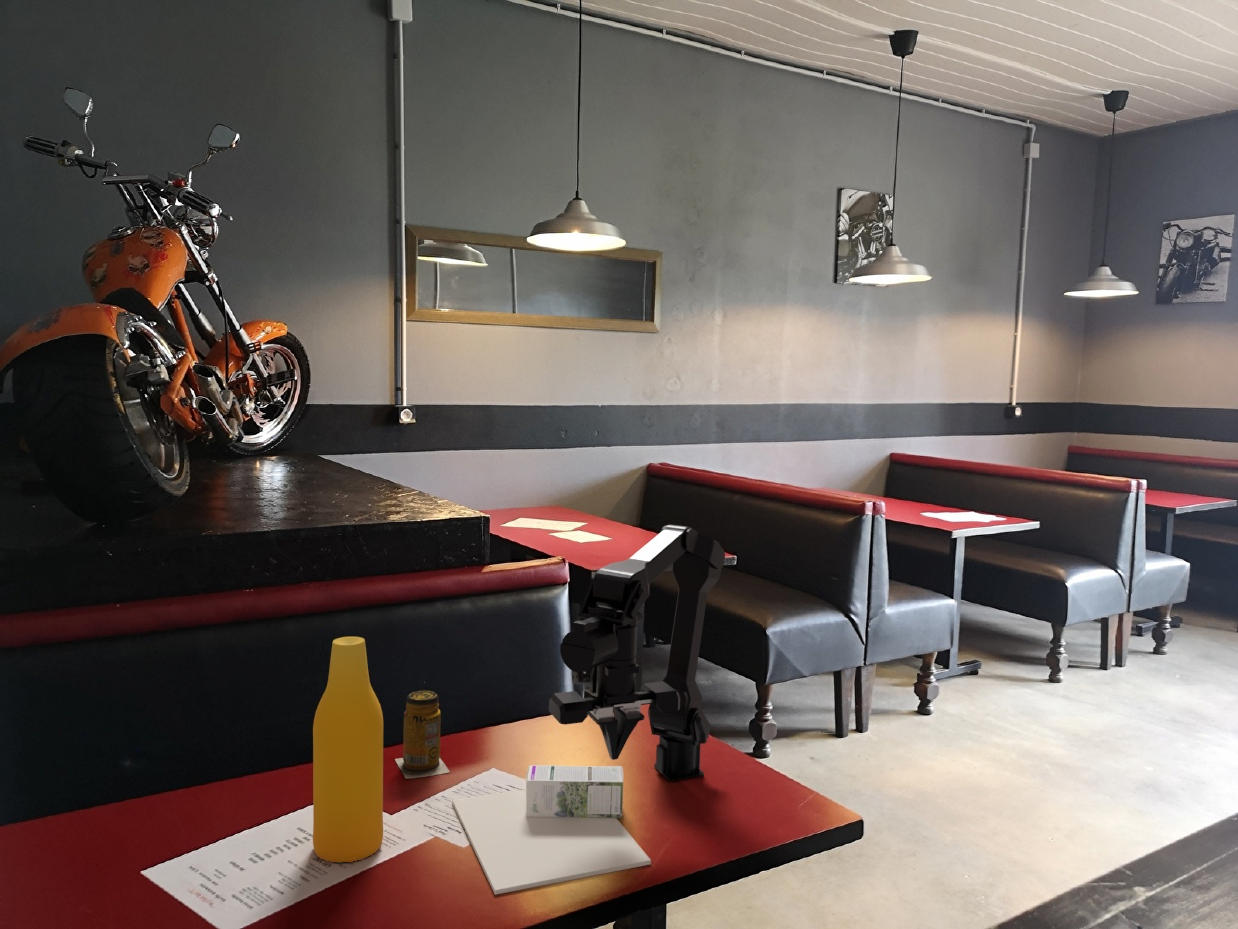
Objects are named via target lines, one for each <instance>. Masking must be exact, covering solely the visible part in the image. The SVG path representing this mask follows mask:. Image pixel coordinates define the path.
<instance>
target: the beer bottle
mask: <svg viewBox="0 0 1238 929" xmlns="http://www.w3.org/2000/svg"><path fill="white" fill-rule="evenodd" d="M331 645H332V646H331V652H330V653H331V654H330V662H329V668H328V670H329V672H328V679H327V684H326V688H325V691H324V692H323V694H322V697H321V698H320V701H319V702H318V705H317V708H316V710H315V712H314V714H315V715H314V719H313V725H312V738H313V739H312V745H313V750H312V752H313V753H312V754H313V755H312V758H313V759H312V761H313V762H312V763H313V764H312V765H313V768H312V769H313V772H312V774H313V775H312V780H313V781H312V782H313V786H312V787H313V789H312V793H313V795H312V796H313V800H312V802H313V803H312V804H313V805H312V806H313V812H312V813H313V814H312V815H313V823H312V824H313V828H312V829H313V830H312V845H313V846H312V847H313V849H314V850H313V851H314V853H315V855H316V856H317V857H318V858H319V857H320V859H321V860H322V859H324V860H323V861H325V860H327V861H326V862H328V861H331V862H330V863H332V862H349V863H354V862H353V861H355V862H358V861H357V860H359V861H361V859H362V860H364V858H365V859H367V858H369V857H371V856H372V855H374V854H375V853H376V852H377V851H378V850H379V849H380V847H381V845H382V843H383V839H384V819H383V818H384V813H383V812H384V808H383V807H384V805H383V804H384V800H383V799H384V792H383V791H384V715H383V711H382V706H381V703H380V702H379V699H378V697H377V694H376V693H375V691H374V690H373V687H372V685H371V682H370V676H369V669H368V668H369V667H368V666H369V665H368V656H367V648H366V640H365V638H363V637H360V636H342V637H339V638H335V639H333V641H332V644H331ZM373 853H374V854H373ZM370 855H371V856H370ZM368 856H369V857H368ZM366 857H367V858H366Z"/></svg>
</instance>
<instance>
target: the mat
mask: <svg viewBox="0 0 1238 929" xmlns="http://www.w3.org/2000/svg"><path fill="white" fill-rule="evenodd" d="M451 802H452V806H453V808H454V811H455V814H457V817H458V819H459V822H460V823H461V825H463V826H462V827H464V828H463V829H465V830H464V831H465V834H466V836H467V835H468V836H467V838H468V841H469V842H471V843H470V844H471V848H472V849H473V851H474V853H475V855H476V858H477V859H478V863H480V865H481V869H482V871H483V872H484V874H485V877H486V879H487V880H488V884H489V885H490V887H491V889H492V891H493V893H494V895H501V894H505V893H510V892H517V891H520V890H526V889H531V888H536V887H537V888H538V887H541V886H547V885H552V884H556V883H561V882H567V881H573V880H577V879H582V878H588V877H592V876H596V875H597V876H598V875H599V876H600V875H603V874H609V873H613V872H614V873H615V872H619V871H622V870H629V869H633V868H638V867H643V866H644V867H645V866H648V865H649V866H651V865H652V860H651V858H650V857H649V855H648V854H646V852H645V851H644V850H643V849H642V848H641V846H640V845H639V844H638V843H637V842H636V840H635V839H634V838H633V836H632V835H631V834H630V833H629V832H628V830H626V828H625V827H624V826H623V824H622V823H621V822H620V821H619V820H618V818H611V817H527V816H526V788H523V789H515V790H511V791H509V790H508V791H503V792H498V793H496V792H495V793H489V794H484V795H478V796H477V795H476V796H470V797H469V796H468V797H465V798H457V799H452V801H451Z"/></svg>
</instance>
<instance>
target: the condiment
mask: <svg viewBox="0 0 1238 929" xmlns="http://www.w3.org/2000/svg"><path fill="white" fill-rule="evenodd" d="M439 699H440V698H439V695H438V694H437V693H436V692H435V691H431V690H417V691H413V692H411V693H409V694H408V695H407V697H406V705H405V707H406V709H405V711H404V713H403V743H402V746H403V747H402V748H403V749H402V750H403V751H402V755H403V757H399V758H395V759H394V760H395V763H396V764H397V767H398V768H399V770H400V771H401V773H402V775H403V776H404V778H405V779H417V778H425V777H429V776H430V777H433V776H437V775H443V774H447V773H451V771H450V770H449V768H448V766H446V764H445V762H444V761H443V760H442V759H441V724H442V723H441V722H442V721H441V718H442V717H441V716H442V715H441V710H440V709H439V705H440V704H439Z"/></svg>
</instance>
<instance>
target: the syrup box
mask: <svg viewBox="0 0 1238 929" xmlns="http://www.w3.org/2000/svg"><path fill="white" fill-rule="evenodd" d="M623 768H624V767H623V766H621V765H607V766H606V765H603V766H601V765H600V766H599V765H598V766H597V765H595V766H593V765H592V766H591V765H589V766H588V765H586V766H585V765H584V766H583V765H554V764H553V765H552V764H550V765H549V764H548V765H546V764H545V765H544V764H541V765H539V764H533V765H529V766H528V768H527V771H526V774H525V775H526V776H525V778H526V779H525V789H526V816H527V817H611V818H616V819H618V818H621V819H622V817H623V807H624V806H623V804H624V769H623Z"/></svg>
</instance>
